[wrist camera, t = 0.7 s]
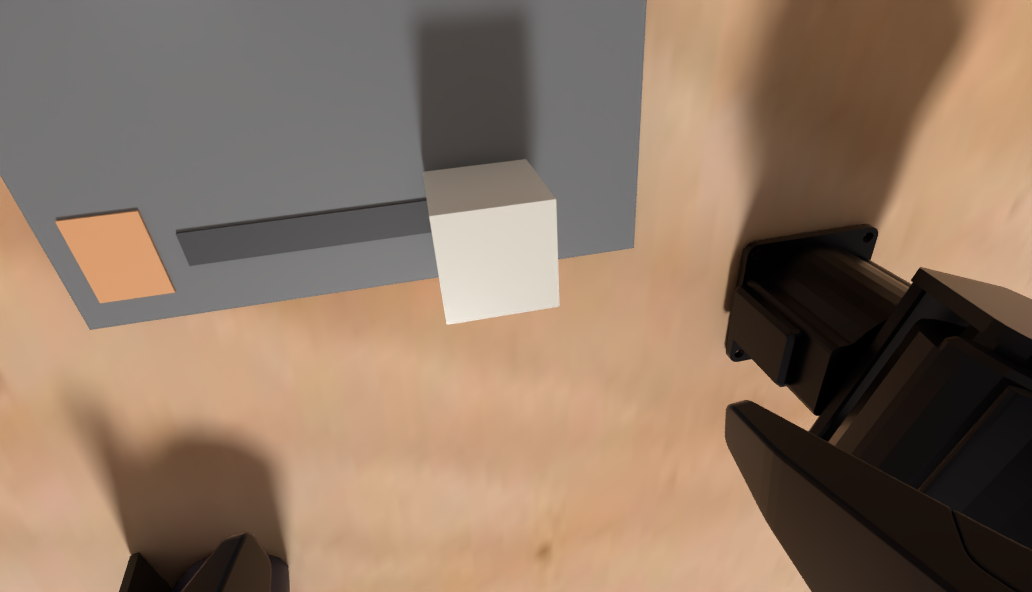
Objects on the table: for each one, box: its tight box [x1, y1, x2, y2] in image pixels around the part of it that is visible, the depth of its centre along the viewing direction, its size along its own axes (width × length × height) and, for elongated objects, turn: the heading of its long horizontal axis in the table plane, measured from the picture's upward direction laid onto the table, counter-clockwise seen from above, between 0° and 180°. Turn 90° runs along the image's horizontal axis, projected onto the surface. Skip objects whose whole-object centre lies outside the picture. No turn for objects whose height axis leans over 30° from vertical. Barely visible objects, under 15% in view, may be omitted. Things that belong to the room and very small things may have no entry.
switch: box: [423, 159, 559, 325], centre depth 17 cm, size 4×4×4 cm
